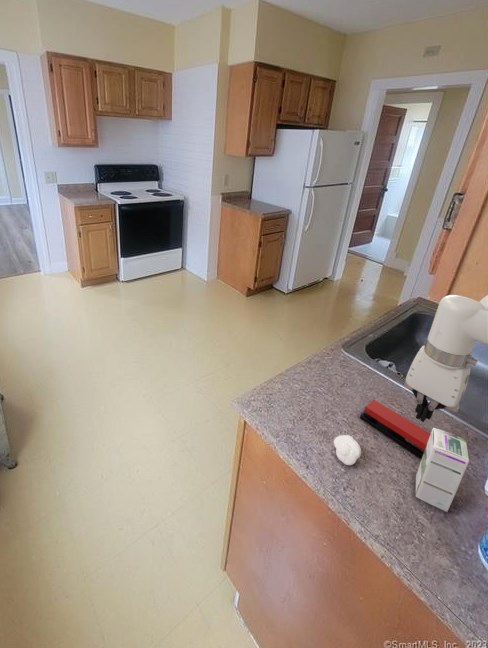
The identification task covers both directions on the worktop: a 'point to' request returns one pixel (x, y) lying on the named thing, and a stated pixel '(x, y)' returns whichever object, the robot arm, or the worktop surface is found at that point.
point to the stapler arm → (398, 424)
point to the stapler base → (393, 435)
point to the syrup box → (441, 468)
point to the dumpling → (347, 449)
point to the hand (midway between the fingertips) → (421, 417)
